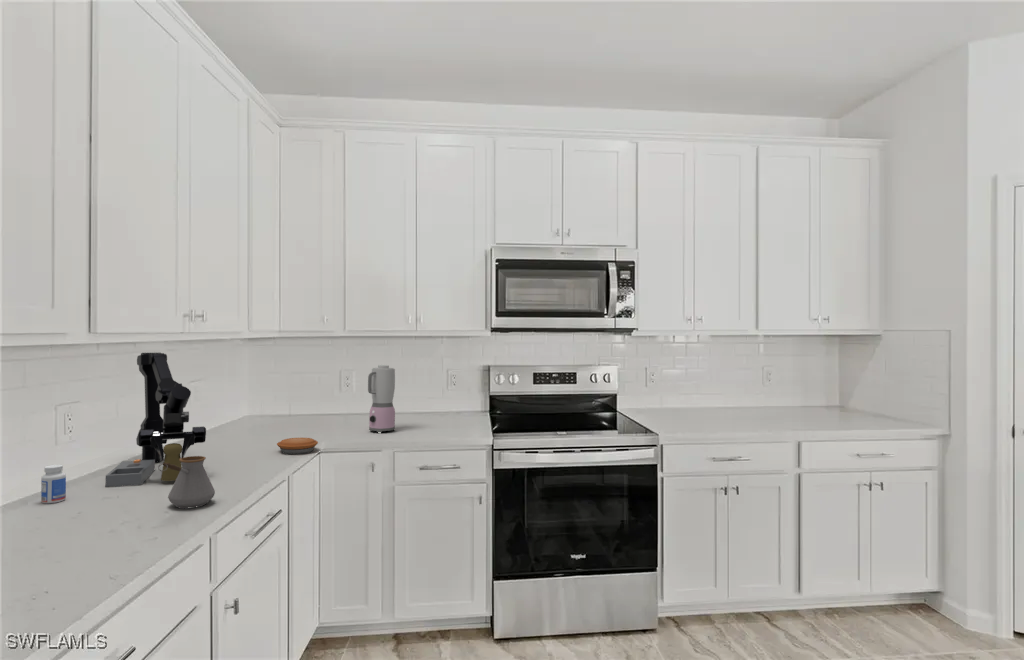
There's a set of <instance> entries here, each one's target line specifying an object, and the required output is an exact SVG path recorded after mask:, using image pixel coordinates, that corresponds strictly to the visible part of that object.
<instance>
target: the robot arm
mask: <svg viewBox="0 0 1024 660" xmlns="http://www.w3.org/2000/svg"><path fill="white" fill-rule="evenodd" d="M136 364H137V366H138V370H139V372H140V374H142V376H143V377H144V405H145V406H144V407H145V408H144V409H145V411H144V413H145V417H144V419H143V421H142V422H141V424H140V429H139V430H138V433H137V436H136V438H135V439H136V445H137V446H139V447H141V460H155V463H160V462H161V461H164V459H165V454H164V452H163V449H164V446H163V445H165V444H166V445H167V442H168V440H180V439H183V443H182V452H181V458H184V457H185V455H186V453H187V451H188V450H189V448H190V447H191V446H194V445H195V444H198V443H200V444H203V443H205V442H206V438H207V437H206V436H207V428H206V426H192V429H191V431H184V427H185V426H184V424H185V423H189V421H190V411H184V408H186V406H187V404H188V402H189V399H190V397H191V394H192V391H191V389H189V388H188V387H186V386H184V385H183V384H182V383H180V382H177V381H176V380H174V379H173V376H172V373H171V370H170V369H171V368H170V366H169V364H168V355H167V353H164V352H141V353H140V355H137V358H136ZM161 405H163V414H162V415H163V417H162V416H161Z"/></svg>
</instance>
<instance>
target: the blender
mask: <svg viewBox="0 0 1024 660" xmlns="http://www.w3.org/2000/svg"><path fill="white" fill-rule="evenodd" d="M395 371H396V369H395V368H394V367H390V366H389V365H387V364H386V365H385V364H384V365H383V364H381V365H380V364H378V366H377V367H372V369H371V372H370V373H369V374H368V376H367V378H368V379H367V392H368V393H369V394H371V399H372V403H371V407H370V409H369V416H368V417H369V420H368V421H369V422H368V424H369V426H368V428H369V429H368V430H371V431H374V432H375V431H376V433H377V432H386V431H393V430H394V429H395V430H396V424H395V423H396V410H395V407H394V404H393V401H394V396H395V395H394V394H395V389H396V387H395V386H396V372H395Z"/></svg>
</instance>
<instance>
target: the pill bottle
mask: <svg viewBox="0 0 1024 660" xmlns="http://www.w3.org/2000/svg"><path fill="white" fill-rule="evenodd" d="M63 466H64V465H63V464H51V465H46V466H44V470H43V471H44V474H43V475H42V476H41V481H40V482H41V483H40V484H41V487H40V489H41V492H40V493H41V494H40V495H41V496H40V498H41V499H40V502H41V503H42V504H56V503H59V502H60V503H61V502H63V501H65V500H66V499H67V498H66V497H67V492H66V490H67V476H66V473H65V472H63V470H64V467H63Z"/></svg>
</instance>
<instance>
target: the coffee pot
mask: <svg viewBox="0 0 1024 660" xmlns="http://www.w3.org/2000/svg"><path fill="white" fill-rule="evenodd" d="M206 459H207V458H206V457H205V456H202V455H200V456H199V455H194V456H184V457H183V458H182V457H181V458H180V459H179V461H180V462H181V466H182V468H180V467H178V466H176V465H173V464H170V463H164V462H163V463H161V464H159V465H158V466H157V469H158V470H159V471H161V472H162V470H163V469H160V466H163V465H164V466H166V469H167V468H170V469H172V470H177V471H180V472H179V474H178V477H177V479H176V480H175V481H174V483H173V485H172V488H171V489H170V491H169V493H168V497H167V499H168V501H169V502H170V503H171V504H172V505H174V506H175V507H176V508H177V507H180V508H179V509H184V508H185V509H189V508H188V507H196V506H201V507H203V506H202V505H204V504H206V503H207V504H208V503H209V502H210V501H211V500H212V499H213V498H214V496H215V494H216V492H215V491H216V490H215V488H214V486H213V484H212V482H211V479H210V477H209V476H208V473H207V471H206V469H205V467H204V461H205V460H206ZM166 469H165V470H166ZM165 470H163V471H165ZM207 504H206V505H207ZM204 506H205V505H204ZM196 508H197V507H196Z"/></svg>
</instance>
